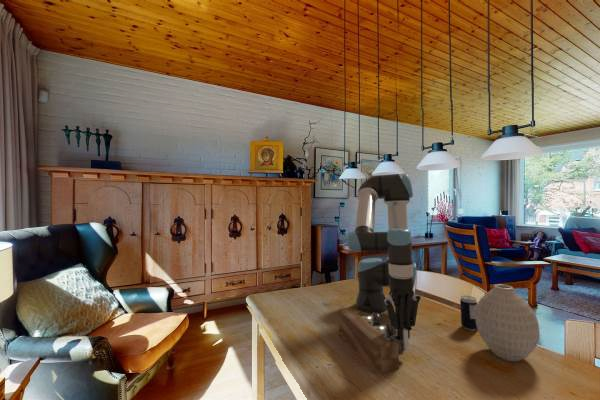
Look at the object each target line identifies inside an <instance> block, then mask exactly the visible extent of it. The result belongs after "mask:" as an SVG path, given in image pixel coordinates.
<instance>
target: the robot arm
mask: <svg viewBox="0 0 600 400" xmlns="http://www.w3.org/2000/svg"><path fill="white" fill-rule="evenodd" d="M413 195H414V193H413V187H412V181H411V178H410V176H409V174H407V173H393V174H380V175H379V174H378V175H373V176H371V177H369V178H367V179H366V180H364V182H363V183H362V184H361V185H360V186H359V188H358V190H357V194H356V197H357V200H358V203H357V204H358V205H357V211H356V220H355V225H354V226H355V228H354V231H350V232H348V234H347V247H348V250H350V251H351V252H356V253H357V252H358V253H363V252H364V253H387V257H386V261H383V259H382V258H380V257H368V258H364V259H362V260H360V261H358V264H357V275H358V278H357V279H358V292H357V295H356V299H355V307H356V309H358V310H359V309H360V311H361V312H365V311H366V312H365V313H371V312H374V313H376V312H378V313H383V312H385V311H387V315H388V318H389V322H390V323H391V326H393V327H394V328H395V329H396V331H397V336H398V337H399V338H400V339H401V341H402V344H403V348H404V352H407V351H409V350H410V348H409V345H410V344H409V339H410V338H411V334H410V333H411V332H410V331H412V330H413V328H412V327H415V326H416V320H417V314H418V307H419V303H420V301H421V298H422V297H421V296H420V295H418V294H416V293H415V291H414V290H413V289H414V287H415V285H416V280H417V279H416V277H417V263H416V262H413V247H412V243H413V242H412V241H413V238H412V232H411V230H410V229H409V228H408V213H407V212H408V209H407V208H408V207H407V205H408V204H409V203H410V202H411V201H410V199H412V198H413V197H414V196H413ZM378 199H382V200H383V203H384V204H386V206H387V222H388V230H387V231H375V224H376V223H375V220H376V219H375V217H376V202H377V201H378ZM384 287H387V288H389V293H388V297H387V298H386V295H385V293H384Z"/></svg>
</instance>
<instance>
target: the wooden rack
mask: <svg viewBox="0 0 600 400" xmlns="http://www.w3.org/2000/svg"><path fill="white" fill-rule="evenodd" d="M338 327H339V328H338V329H339V333H340V332H341V333H342V334H341V333H340V334H341V335H342V337H343V336H344V337H345V338H346V339H345V338H344V339H345V340H346V341H347V342H348V343H350V344H351V345H352V346H351V345H350V344H349V345H350V346H351V347H352V348H353V349H354V351H355V352H356V351H357V352H358V353H357V352H356V353H357V354H358V355H359V357H361V358H363V359H364V360H363V361H364V362H365V363H366V364H367V366H368V367H369V366H370V367H369V368H370V369H371V370H372V372H373V373H374V374H375V373H376V374H375V375H377V374H378V373H379V374H383V373H387V372H392V371H397V370H399V369H400V355H399V349H398V344H397V343H396V342H395V341H394V342H389V340H388V339H387V338H386V337H385V333H384V332H383V331H381V330H380V329H375V328H374V327H373V326H371V322H370V321H369V320H368V319H367V318H362V317H361V315H360V312H359V311H358V310H353V309H352V308H351V307H344V308H339V309H338Z"/></svg>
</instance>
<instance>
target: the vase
mask: <svg viewBox="0 0 600 400" xmlns="http://www.w3.org/2000/svg"><path fill="white" fill-rule="evenodd" d="M475 320H476V326H477V329H476V330H477V332H478V334H479V336H480V338H481V340H482V341H483V343H484V344H485V345H486V347H487V348H488V349H489V350H490V351H491V352H492V353H493V354H494V355H495V356H497V357H498V358H500V359H503V360H505V361H508V362H515V363H516V362H520V361H522V360H524V359H527V358H528V357H529V356H531V354H532V353H533V352H534V351H535V350H536V348H537V346H538V343H539V340H540V326H539V321H538V318H537V316H536V313H535V312H534V310H533V309H532V308H531V306H530V304H528V302H527V301H526V300H525V299H523V298H522V296H520V294H518V293H517V292H516V291H515V290H514V287H513V286H511V285H508V284H500V283H498V284H496V283H495V284H494V285H493V288H492V289H490V290H489V291H488V292H487V293H485V294H484V295H483V296H481V298H480V299H479V301H477V307H476V312H475Z"/></svg>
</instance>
